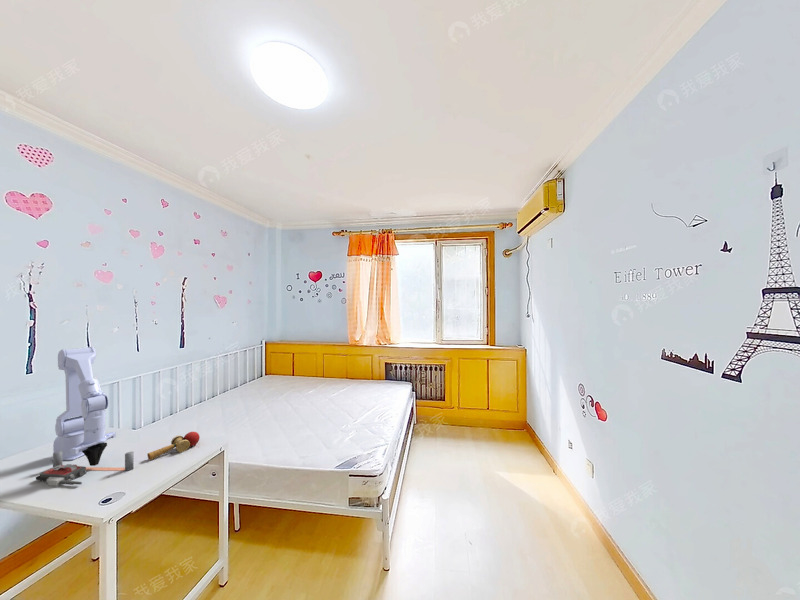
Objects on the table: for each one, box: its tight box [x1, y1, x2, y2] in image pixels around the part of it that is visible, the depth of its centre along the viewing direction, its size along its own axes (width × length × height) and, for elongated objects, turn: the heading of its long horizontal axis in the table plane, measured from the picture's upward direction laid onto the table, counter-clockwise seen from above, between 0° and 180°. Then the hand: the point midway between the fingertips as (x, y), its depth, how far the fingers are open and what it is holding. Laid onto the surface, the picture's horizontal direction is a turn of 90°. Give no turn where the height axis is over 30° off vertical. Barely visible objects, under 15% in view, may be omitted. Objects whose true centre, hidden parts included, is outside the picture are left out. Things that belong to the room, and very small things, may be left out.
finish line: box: [52, 451, 135, 472], centre depth 115 cm, size 30×2×6 cm, turn 87°
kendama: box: [146, 431, 201, 461], centre depth 128 cm, size 8×6×18 cm
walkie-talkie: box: [35, 463, 87, 488], centre depth 108 cm, size 9×4×20 cm
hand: (94, 464), depth 115 cm, fingers closed
